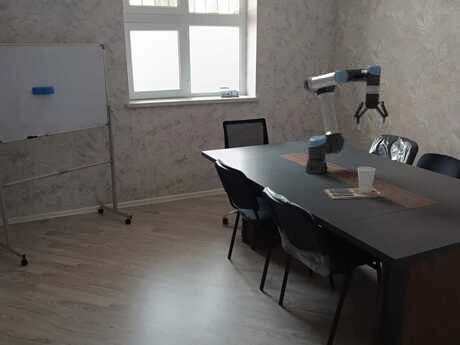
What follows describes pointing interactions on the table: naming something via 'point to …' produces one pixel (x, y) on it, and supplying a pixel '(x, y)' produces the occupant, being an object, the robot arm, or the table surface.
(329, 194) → the sorting board
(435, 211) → the table surface
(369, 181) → the foam cup
